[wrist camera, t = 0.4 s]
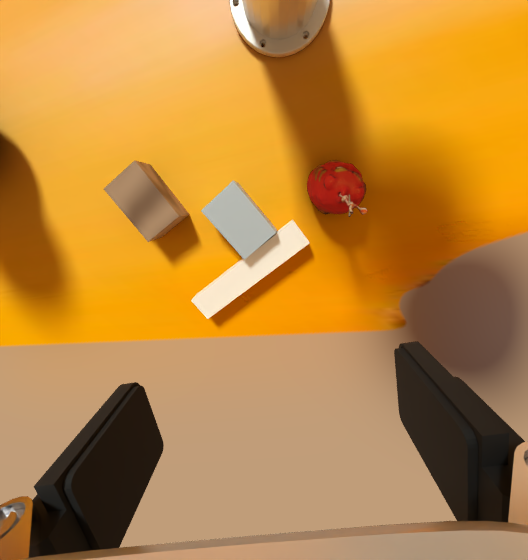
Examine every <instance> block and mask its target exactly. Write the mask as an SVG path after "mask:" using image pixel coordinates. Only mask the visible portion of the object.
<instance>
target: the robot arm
mask: <svg viewBox="0 0 528 560" xmlns="http://www.w3.org/2000/svg"><path fill="white" fill-rule="evenodd" d="M229 3H230V8H231V13H232V17H233V21H234V23H235V26H236V28H237V30H238V32H239V34H240V35H241V37H242V38H243V39H244V41H245V42H246V43H247V44H248V45H249V46H250V47H251V48H253V49H254V50H256V51H257V52H259V53H261V54H264V55H266V56H271V57H286V56H289V55H292V54H295V53H297V52H299V51H300V50H302V49H304V48H305V47H306V46H307V45H308V44H310V43H311V42H312V40H313V39H314V38H315V37H316V36H317V34H318V33H319V31H320V29H321V27H322V26H323V23H324V21H325V18H326V15H327V12H328V8H329V4H330V0H229ZM236 5H238V6H237V7H235V6H236ZM304 37H307V39H304ZM262 45H265V47H261V46H262ZM394 354H395V364H396V365H395V366H396V377H397V391H398V404H399V414H400V418H401V421H402V423H403V425H404V427H405V429H406V430H407V432H408V434H409V436H410V438H411V439H412V441H413V443H414V445H415V446H416V448H417V450H418V452H419V453H420V455H421V457H422V459H423V461H424V462H425V464H426V466H427V468H428V470H429V471H430V473H431V475H432V477H433V479H434V480H435V482H436V484H437V486H438V487H439V489H440V491H441V493H442V495H443V496H444V498H445V500H446V502H447V503H448V505H449V507H450V509H451V510H452V512H453V514H454V516H455V518H456V519H457V521H444V522H429V523H428V522H427V523H411V524H396V525H380V526H366V527H354V528H341V529H329V530H317V531H305V532H292V533H280V534H268V535H256V536H245V537H233V538H222V539H210V540H199V541H189V542H176V543H166V544H156V545H145V546H135V547H123V548H119V547H120V544H121V542H122V540H123V538H124V536H125V533H126V531H127V529H128V527H129V525H130V522H131V520H132V518H133V516H134V514H135V511H136V509H137V507H138V505H139V503H140V500H141V498H142V496H143V494H144V492H145V489H146V487H147V485H148V483H149V480H150V478H151V476H152V474H153V472H154V470H155V467H156V465H157V463H158V461H159V459H160V457H161V454H162V451H163V440H162V437H161V435H160V432H159V429H158V426H157V423H156V420H155V417H154V415H153V412H152V409H151V406H150V403H149V401H148V398H147V395H146V392H145V389H144V387H143V386H140V385H139V384H138V383H136V382H135V383H129V384H122V385H120V386H119V387H118V388H117V389H116V390H115V392H114V393H113V394H112V395H111V396H110V398H109V399H108V400H107V401H106V402H105V403H104V404H103V406H102V407H101V408H100V409H99V411H98V412H97V413H96V414H95V415H94V416H93V417H92V419H91V420H90V421H89V422H88V423H87V424H86V426H85V427H84V428H83V429H82V430H81V431H80V433H79V434H78V435H77V436H76V437H75V439H74V440H73V441H72V442H71V443H70V445H69V446H68V447H67V448H66V449H65V450H64V452H63V453H62V454H61V455H60V456H59V457H58V459H57V460H56V461H55V462H54V463H53V464H52V466H51V467H50V468H49V469H48V470H47V471H46V473H45V474H44V475H43V476H42V477H41V479H40V480H39V481H38V482H37V483H36V485H35V486H34V488H35V490H36V492H37V495H36V497H35V498H34V499H33V500H32V499H31V498H29V497H28V496H27V497H18V498H15V499H12V500H10V501H8V502H6V503H4V504H2V505H0V560H528V442H525V441H524V440H523V439H522V438H521V437H520V436H519V435H518V434H517V433H516V432H515V431H514V430H513V429H512V428H511V427H510V426H509V425H508V424H506V422H504V421H503V420H502V419H501V418H500V417H499V416H498V415H497V414H496V413H495V412H494V411H493V410H492V409H491V408H490V407H489V406H488V405H487V404H486V403H485V402H484V401H483V400H482V399H481V398H480V397H479V396H478V395H477V394H476V393H474V391H473V390H472V389H471V388H469V387H468V386H467V384H465V383H464V382H463V381H462V380H461V379H460V378H458V377H453V376H452V375H451V374H450V373H449V372H448V371H447V370H446V369H445V368H444V367H443V366H442V365H441V364H440V363H439V362H438V361H437V360H436V359H435V358H434V357H433V356H432V355H431V354H430V353H429V352H428V351H427V350H426V349H425V348H424V347H423V346H422V345H421V344H420V343H419V342H409V343H403V344H400V345H399V348H398V349H395V353H394Z"/></svg>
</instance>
